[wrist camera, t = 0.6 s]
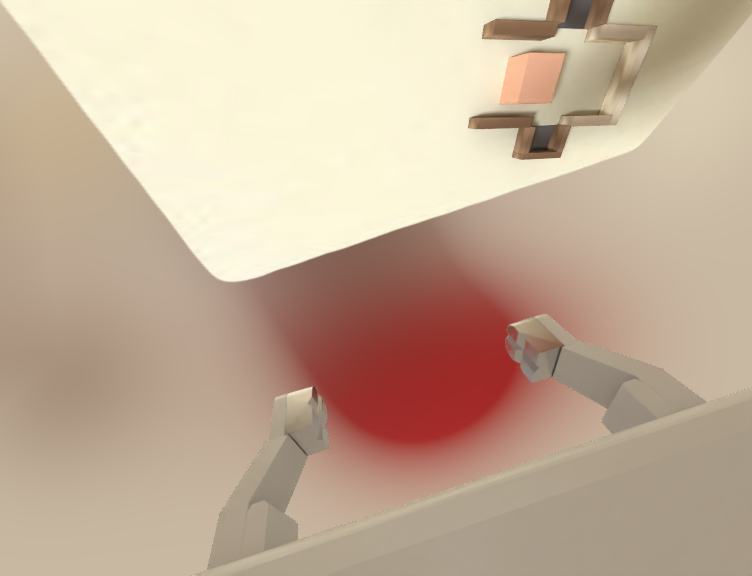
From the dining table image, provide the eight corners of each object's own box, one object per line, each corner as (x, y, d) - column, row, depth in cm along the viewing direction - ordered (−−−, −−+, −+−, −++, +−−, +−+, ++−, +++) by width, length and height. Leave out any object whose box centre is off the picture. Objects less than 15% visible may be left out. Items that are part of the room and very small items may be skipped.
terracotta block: (508, 58, 42) (529, 52, 38) (541, 58, 43) (565, 53, 39) (498, 104, 45) (517, 103, 41) (530, 103, 46) (551, 103, 42)
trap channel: (491, -26, 36) (505, -36, 34) (655, -14, 41) (677, -22, 38) (463, 159, 49) (471, 162, 47) (589, 153, 53) (603, 155, 51)
